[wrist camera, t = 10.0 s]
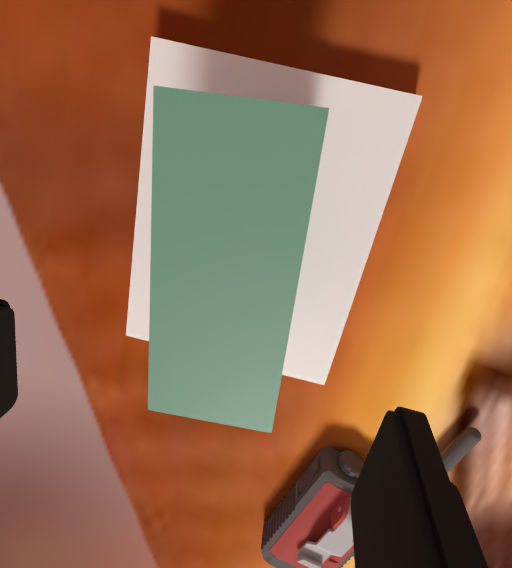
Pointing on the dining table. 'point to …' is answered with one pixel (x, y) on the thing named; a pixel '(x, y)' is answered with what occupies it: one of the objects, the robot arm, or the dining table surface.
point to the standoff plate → (327, 196)
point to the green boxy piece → (226, 249)
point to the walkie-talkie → (328, 509)
